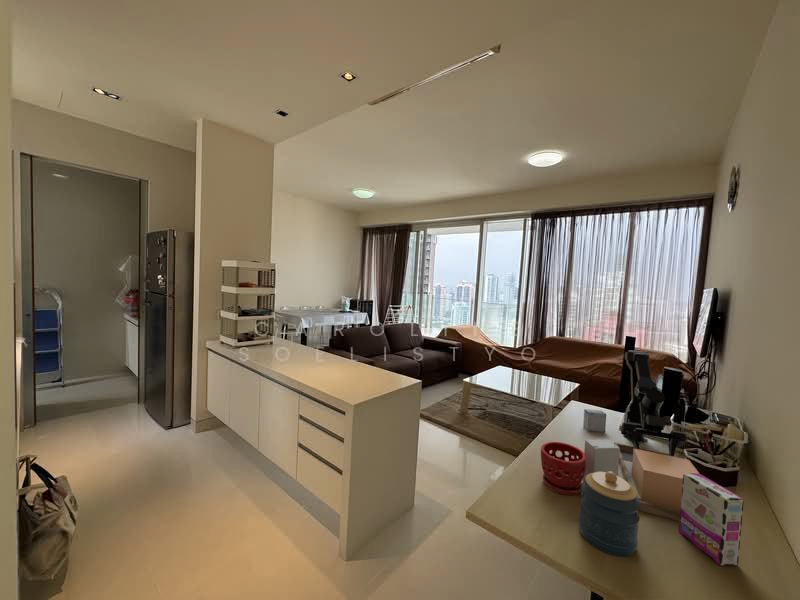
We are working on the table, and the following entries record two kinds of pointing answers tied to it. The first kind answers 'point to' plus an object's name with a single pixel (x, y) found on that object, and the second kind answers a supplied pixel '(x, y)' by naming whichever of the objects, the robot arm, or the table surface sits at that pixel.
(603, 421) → the medicine box
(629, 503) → the canister
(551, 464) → the plant pot
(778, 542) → the table surface
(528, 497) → the table surface
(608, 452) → the skincare box
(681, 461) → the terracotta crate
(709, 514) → the candy bar box
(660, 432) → the robot arm
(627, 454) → the tray
